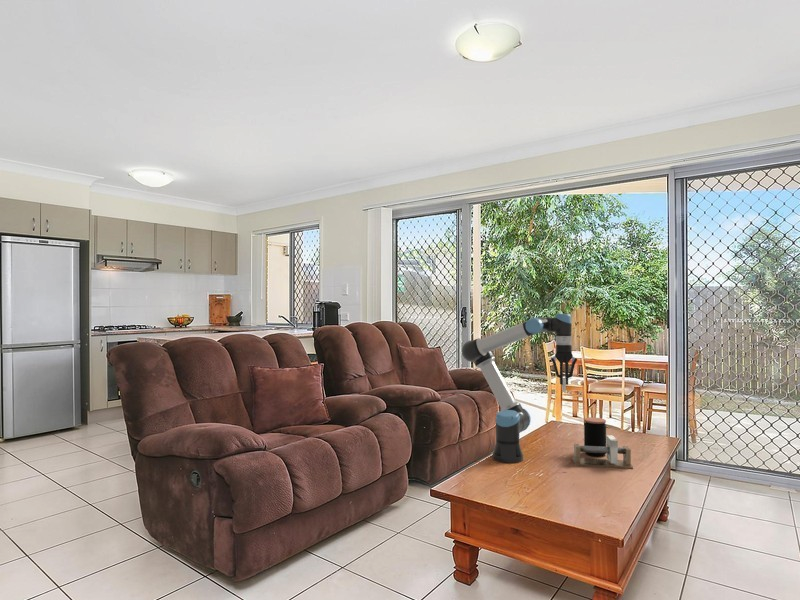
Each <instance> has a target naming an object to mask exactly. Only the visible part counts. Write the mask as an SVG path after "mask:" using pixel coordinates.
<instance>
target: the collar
mask: <svg viewBox="0 0 800 600" xmlns="http://www.w3.org/2000/svg"><path fill="white" fill-rule="evenodd" d="M606 447H610V453H606V459H608V460H609V461H610V463H612V464H618V460H619V458H618V457H619V456H618V455H619V454H618V447H619V445H618V439H617V438H616V437H615V436H614V435H610V434H606Z"/></svg>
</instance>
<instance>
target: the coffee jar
mask: <svg viewBox="0 0 800 600" xmlns="http://www.w3.org/2000/svg"><path fill="white" fill-rule="evenodd" d="M583 421H584V423H583V434H584V436H583V444H584V445H583V446H601V447H607V443H606V435H607V425H606V423H607V420H606V419H605V418H602V417H601V418H600V417H591V416H590V417H585V418H584V419H583ZM584 453H585V455H587V456H589V457H595V458H599V457H605V455H607V453H593V452H584Z"/></svg>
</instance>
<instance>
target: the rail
mask: <svg viewBox="0 0 800 600" xmlns="http://www.w3.org/2000/svg"><path fill="white" fill-rule="evenodd" d="M631 451H632V450H631V448H630V447H629V446H627V445H623V446H622V447H621V446H620V447H619V446H618V455H622V459H618V464H612V463H610V461H609V460H608V459H607V458H585V457H581V453H585V452H593V453H606V454H607V453H610V447H607V446H606V447H601V446H584V445H579V444H578V443H574V444H573V457H572V461H573V463H574V465H575V466H576V467H592V468H594V467H595V468H609V469H610V468H612V469H613V468H615V469H629V470H631V469H632V470H634V466H633V465H632V461H631V459H632V456H631V454H632V453H631Z"/></svg>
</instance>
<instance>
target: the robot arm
mask: <svg viewBox="0 0 800 600" xmlns="http://www.w3.org/2000/svg"><path fill="white" fill-rule="evenodd" d="M540 333H555V344H556V345H555V354H554V356H553V357H550V361H551V362H552V364H553V368H554V372H555V376H556V377H557V378H559V384H560V385H561V390H562V392H563V393H565V392H567V386H568V385H569V379H570V378H572V377H573V374H574V370H575V366H576V365H575V364H576V362H577V361H578V358H575V357H574V356H573V353H572V350H573V347H572V341H573V340H572V316H571V314H570V313H556V314H555V316H554V317H542V316H538V317H531V318H530V319H528V320H526V321H524V322H521V323H519V324H516V325H514V326H511V327H509V328H506V329H503V330H500V331H499V332H496V333H493V334H491V335H488V336H486V337H484V338H483V337H482V338H479V337H477V338H475V339H473V340H467V341H466V342H465V343H464V344H463V345H462V347H461V355H462V357H463V358H464V359H465V361H467V362H470V363H473V364H474V365H475V367H476V368H477V369H480V371H481V373H482V374H483V377H484V378H485V380H486V382H487V384H488V386H489V388H490V390H491V392H492V394H493V395H494V397H495V399H496V402H497V403H498V405H499V407H500V411H498V412H497V413H496V415H495V445H494V448H493V451H492V459H493V460H494V461H496V462H499V463H508V464H511V463H512V464H515V463H520V462H523V460H524V454H523V450H522V448H521V444H520V433H522V432H524V431H526V430H527V429H528V428H529V427H530V425H531V422H532V421H531V415H530V412H529V411H527V409H525V408H523V406H522V404H521V402H518V401H516V399H515V397H514V396H513V393H512V392H511V390H510V388H509V386H508V384H507V382H506V381H505V379H504V377H503V375H502V374H501V372H500V370H499V368H498V367H497V364H496V362H495V360H496V356H495V355H494V351H495V350H497V349H499V348H503V347H504V346H508V345H511V344H512V343H513V344H514V343H515V342H518V341H521V340H523V339H526V338H528V337H532V336H535V335H537V334H540ZM556 361H558V362H559V369H558V366H557V363H556ZM570 361H572V362H571V366H570V368H569V362H570Z"/></svg>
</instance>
